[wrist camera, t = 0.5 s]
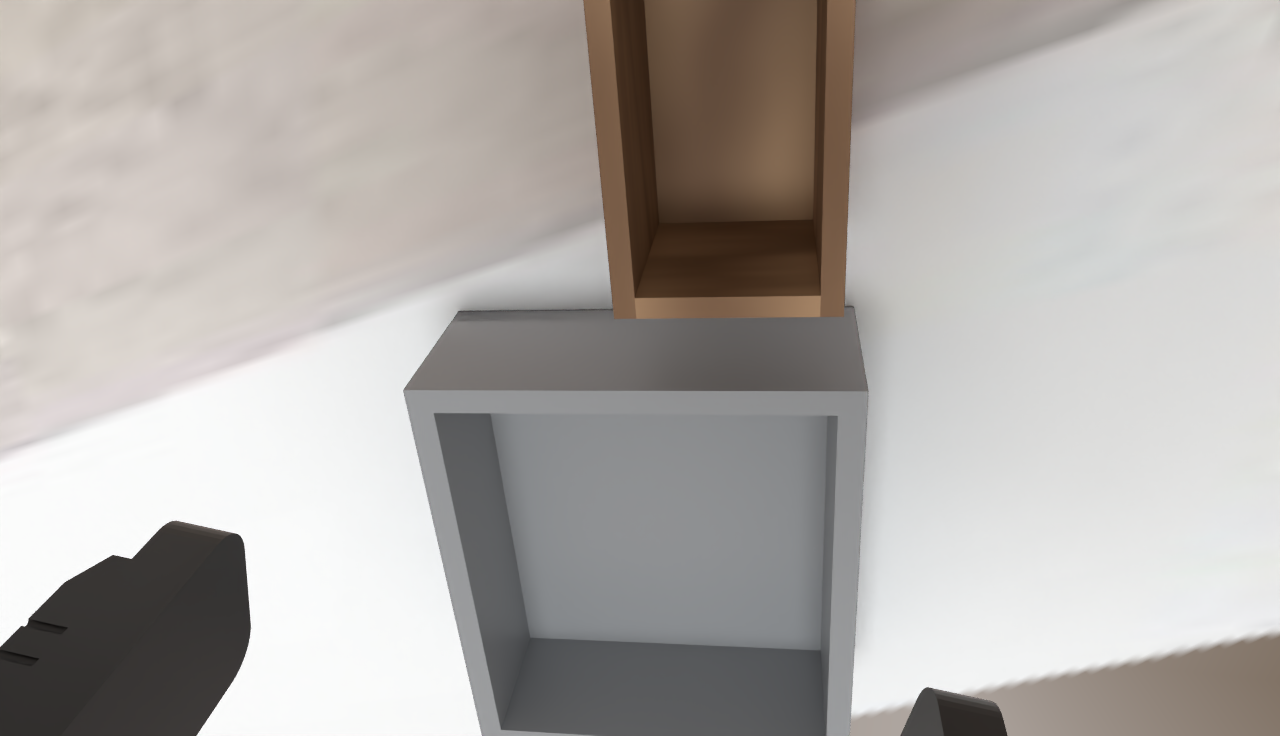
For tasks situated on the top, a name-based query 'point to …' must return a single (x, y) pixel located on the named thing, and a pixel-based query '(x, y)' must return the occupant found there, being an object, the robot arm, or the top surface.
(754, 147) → the crate small
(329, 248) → the top surface
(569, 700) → the crate large
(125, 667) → the robot arm
